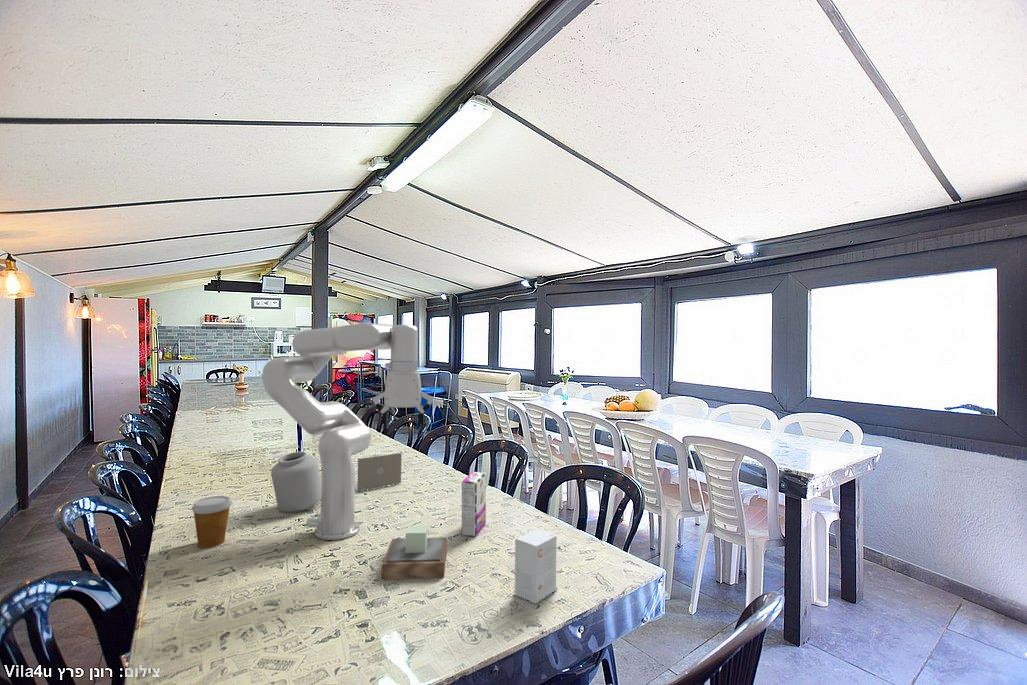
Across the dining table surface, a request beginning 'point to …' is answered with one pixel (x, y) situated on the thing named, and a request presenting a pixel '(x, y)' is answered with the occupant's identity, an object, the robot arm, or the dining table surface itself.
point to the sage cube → (416, 539)
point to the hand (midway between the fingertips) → (402, 426)
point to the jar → (296, 481)
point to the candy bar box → (473, 503)
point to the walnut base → (415, 560)
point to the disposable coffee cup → (211, 520)
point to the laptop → (378, 471)
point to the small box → (535, 565)
